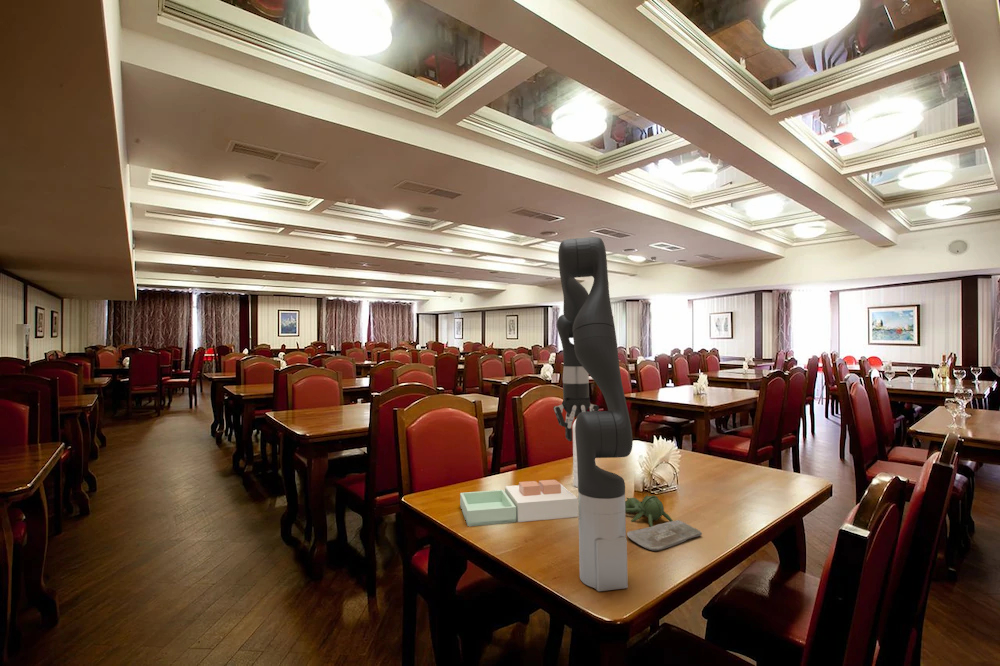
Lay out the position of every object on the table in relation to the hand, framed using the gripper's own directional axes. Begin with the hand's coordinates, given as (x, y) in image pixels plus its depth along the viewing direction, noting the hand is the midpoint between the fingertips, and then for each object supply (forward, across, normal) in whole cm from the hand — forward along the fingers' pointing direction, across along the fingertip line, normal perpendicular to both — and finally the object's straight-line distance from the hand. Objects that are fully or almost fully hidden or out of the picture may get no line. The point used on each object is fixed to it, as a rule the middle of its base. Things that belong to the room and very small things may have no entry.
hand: (576, 440), depth 137 cm
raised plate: (+19, -12, 0) cm, 22 cm away
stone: (+20, +12, -26) cm, 35 cm away
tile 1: (+14, -14, 0) cm, 20 cm away
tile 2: (+14, -8, 0) cm, 17 cm away
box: (+19, -27, 0) cm, 33 cm away
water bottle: (+19, +9, +20) cm, 29 cm away
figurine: (+20, +14, -11) cm, 26 cm away
